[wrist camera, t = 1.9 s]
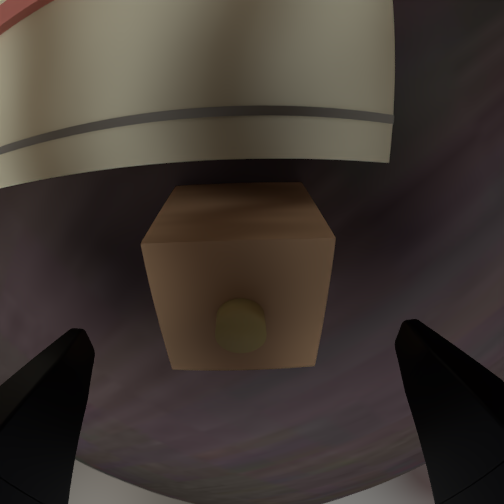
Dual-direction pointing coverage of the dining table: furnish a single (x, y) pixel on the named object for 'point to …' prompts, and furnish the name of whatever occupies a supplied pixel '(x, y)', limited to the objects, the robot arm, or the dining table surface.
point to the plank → (194, 84)
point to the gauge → (240, 275)
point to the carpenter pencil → (18, 11)
